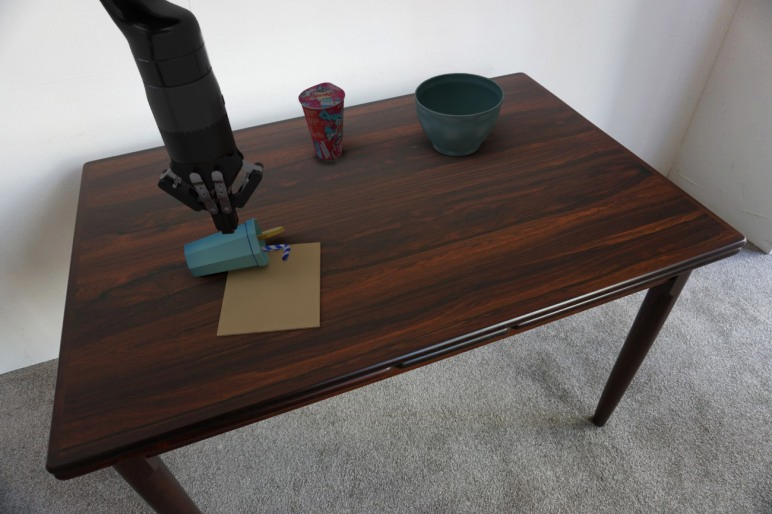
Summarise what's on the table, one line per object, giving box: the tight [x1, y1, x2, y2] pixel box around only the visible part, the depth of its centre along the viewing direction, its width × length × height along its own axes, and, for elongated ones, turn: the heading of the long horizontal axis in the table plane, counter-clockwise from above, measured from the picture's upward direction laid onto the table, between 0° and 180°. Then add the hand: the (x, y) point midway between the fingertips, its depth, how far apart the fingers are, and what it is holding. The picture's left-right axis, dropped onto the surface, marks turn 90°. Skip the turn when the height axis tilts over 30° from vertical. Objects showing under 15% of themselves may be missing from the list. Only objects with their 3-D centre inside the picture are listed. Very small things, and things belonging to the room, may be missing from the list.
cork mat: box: [216, 241, 321, 338], centre depth 77 cm, size 14×17×1 cm
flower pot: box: [414, 72, 505, 157], centre depth 99 cm, size 16×16×11 cm
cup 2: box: [297, 81, 346, 161], centre depth 98 cm, size 9×8×12 cm
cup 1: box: [183, 217, 291, 278], centre depth 77 cm, size 14×8×15 cm
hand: (229, 229), depth 69 cm, fingers closed
